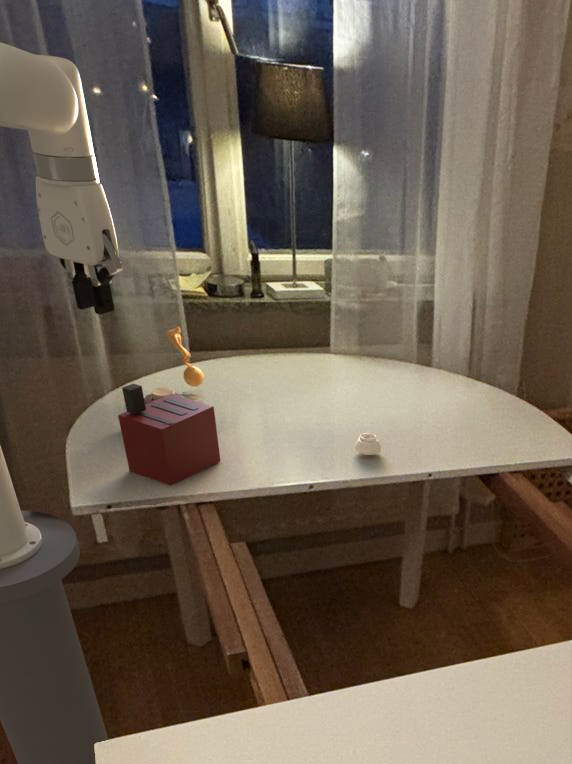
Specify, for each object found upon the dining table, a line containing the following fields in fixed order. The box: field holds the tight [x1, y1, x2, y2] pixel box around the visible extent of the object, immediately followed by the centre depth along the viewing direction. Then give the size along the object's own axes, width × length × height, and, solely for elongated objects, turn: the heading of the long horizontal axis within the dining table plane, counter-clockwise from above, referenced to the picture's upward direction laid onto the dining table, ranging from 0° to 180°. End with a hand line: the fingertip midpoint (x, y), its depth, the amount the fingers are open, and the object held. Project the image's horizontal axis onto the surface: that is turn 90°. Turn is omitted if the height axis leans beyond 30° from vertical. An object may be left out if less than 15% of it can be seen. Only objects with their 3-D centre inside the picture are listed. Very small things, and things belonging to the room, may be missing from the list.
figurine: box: [166, 326, 205, 388], centre depth 156 cm, size 8×6×12 cm
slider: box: [121, 383, 146, 414], centre depth 122 cm, size 2×2×4 cm
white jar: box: [353, 432, 383, 456], centre depth 142 cm, size 5×3×5 cm
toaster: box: [117, 394, 221, 487], centre depth 128 cm, size 12×9×10 cm
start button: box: [150, 387, 176, 401], centre depth 143 cm, size 4×4×2 cm
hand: (96, 308), depth 116 cm, fingers closed
